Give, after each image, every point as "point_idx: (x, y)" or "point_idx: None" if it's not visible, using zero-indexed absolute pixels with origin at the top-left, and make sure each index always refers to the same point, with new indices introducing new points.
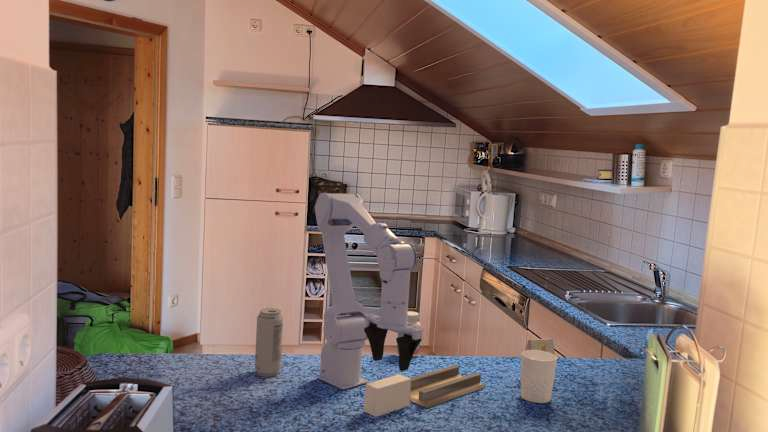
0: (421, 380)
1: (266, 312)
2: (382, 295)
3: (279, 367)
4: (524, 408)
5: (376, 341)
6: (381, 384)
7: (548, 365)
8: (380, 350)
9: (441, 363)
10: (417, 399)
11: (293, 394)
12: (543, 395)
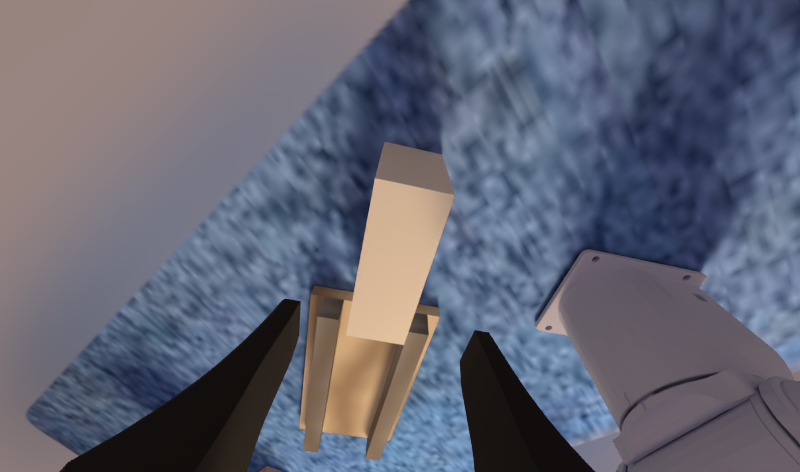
0: (390, 377)
1: None
2: None
3: None
4: (177, 387)
5: (506, 449)
6: (394, 232)
7: None
8: (474, 400)
9: (439, 461)
10: (348, 300)
11: (760, 108)
12: None
